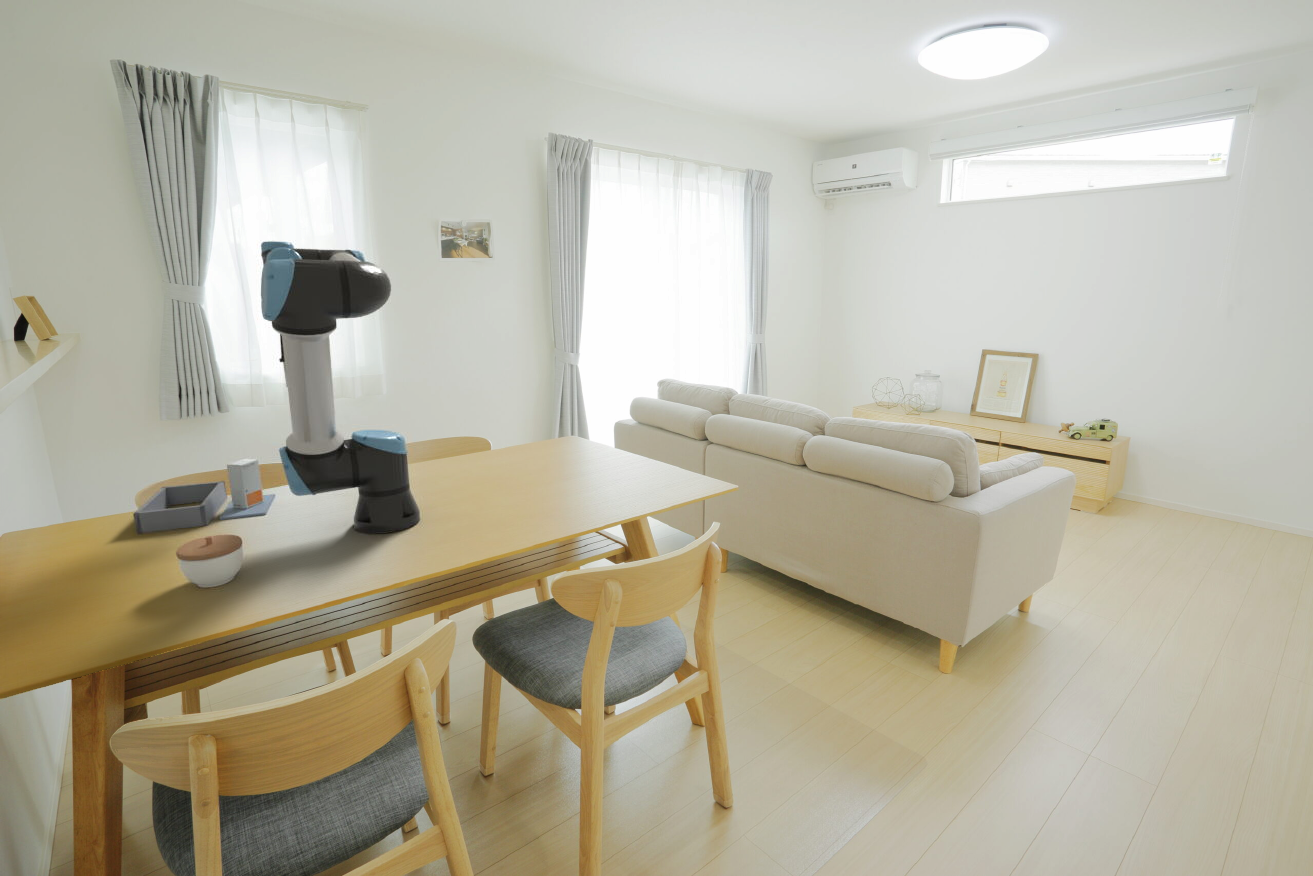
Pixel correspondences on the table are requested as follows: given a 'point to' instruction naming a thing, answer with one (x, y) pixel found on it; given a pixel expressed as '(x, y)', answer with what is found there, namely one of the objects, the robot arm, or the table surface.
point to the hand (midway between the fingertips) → (295, 383)
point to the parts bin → (160, 518)
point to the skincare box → (245, 483)
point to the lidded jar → (211, 559)
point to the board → (248, 509)
